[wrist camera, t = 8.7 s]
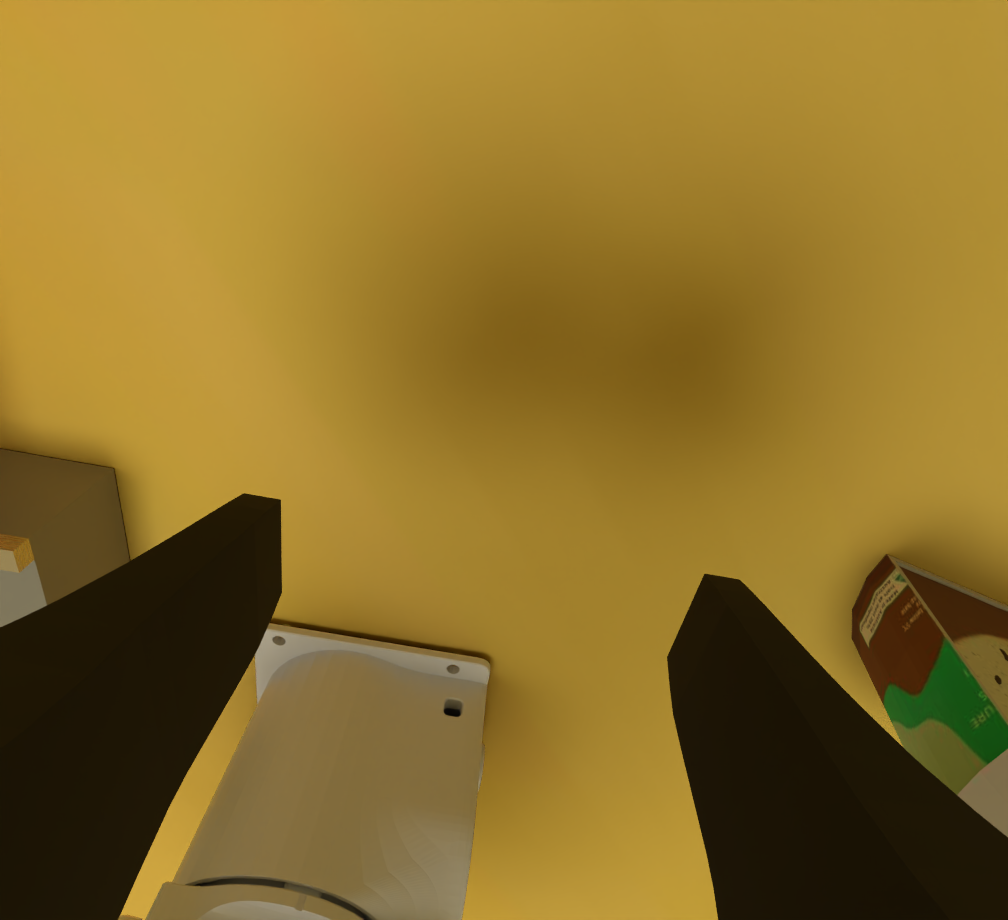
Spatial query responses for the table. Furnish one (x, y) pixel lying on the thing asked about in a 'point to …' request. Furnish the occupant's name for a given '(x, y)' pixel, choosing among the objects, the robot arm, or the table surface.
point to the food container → (941, 677)
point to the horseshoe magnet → (54, 530)
